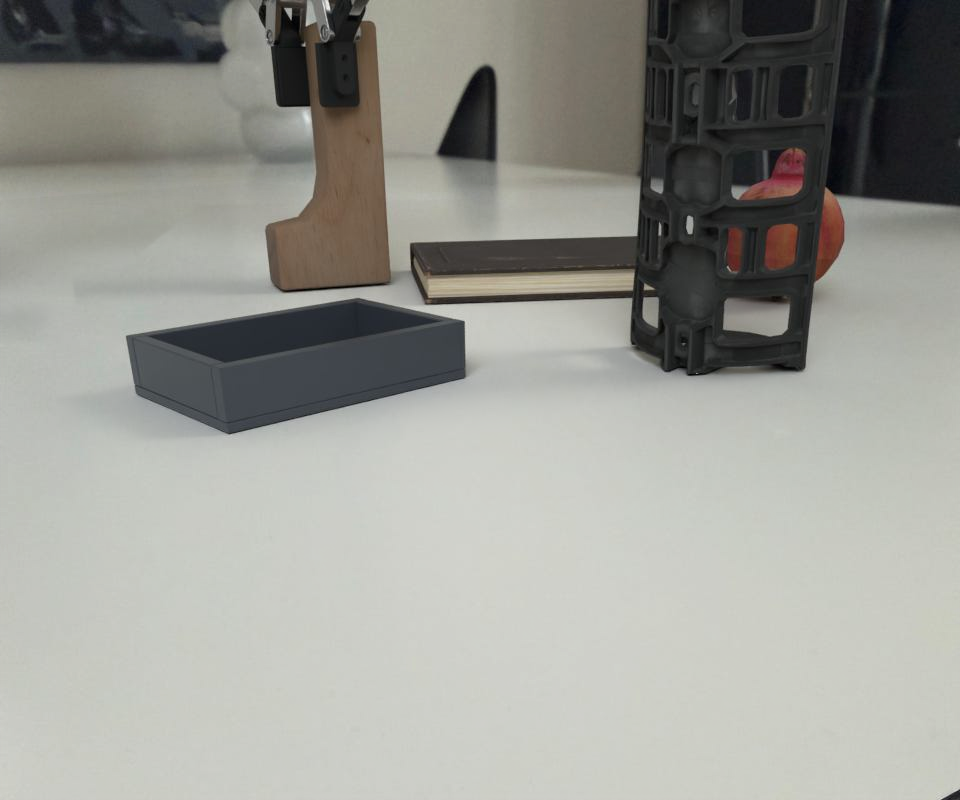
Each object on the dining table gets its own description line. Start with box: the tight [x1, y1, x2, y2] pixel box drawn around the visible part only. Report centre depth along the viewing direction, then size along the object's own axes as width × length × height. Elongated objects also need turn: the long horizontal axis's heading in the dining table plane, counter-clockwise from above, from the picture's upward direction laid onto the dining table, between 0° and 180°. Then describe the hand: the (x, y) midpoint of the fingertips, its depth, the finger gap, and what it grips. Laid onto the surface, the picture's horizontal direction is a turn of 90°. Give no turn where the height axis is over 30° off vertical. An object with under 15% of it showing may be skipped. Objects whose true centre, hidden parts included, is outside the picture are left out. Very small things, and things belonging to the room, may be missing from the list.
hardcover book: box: [409, 234, 728, 305], centre depth 81 cm, size 16×23×2 cm
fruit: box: [727, 148, 845, 302], centre depth 71 cm, size 8×8×10 cm
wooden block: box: [264, 20, 392, 291], centre depth 77 cm, size 9×4×18 cm, turn 111°
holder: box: [629, 0, 848, 375], centre depth 52 cm, size 11×8×20 cm
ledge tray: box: [125, 297, 467, 434], centre depth 53 cm, size 10×15×3 cm, turn 132°
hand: (317, 103), depth 75 cm, fingers closed on wooden block, 5 cm apart
